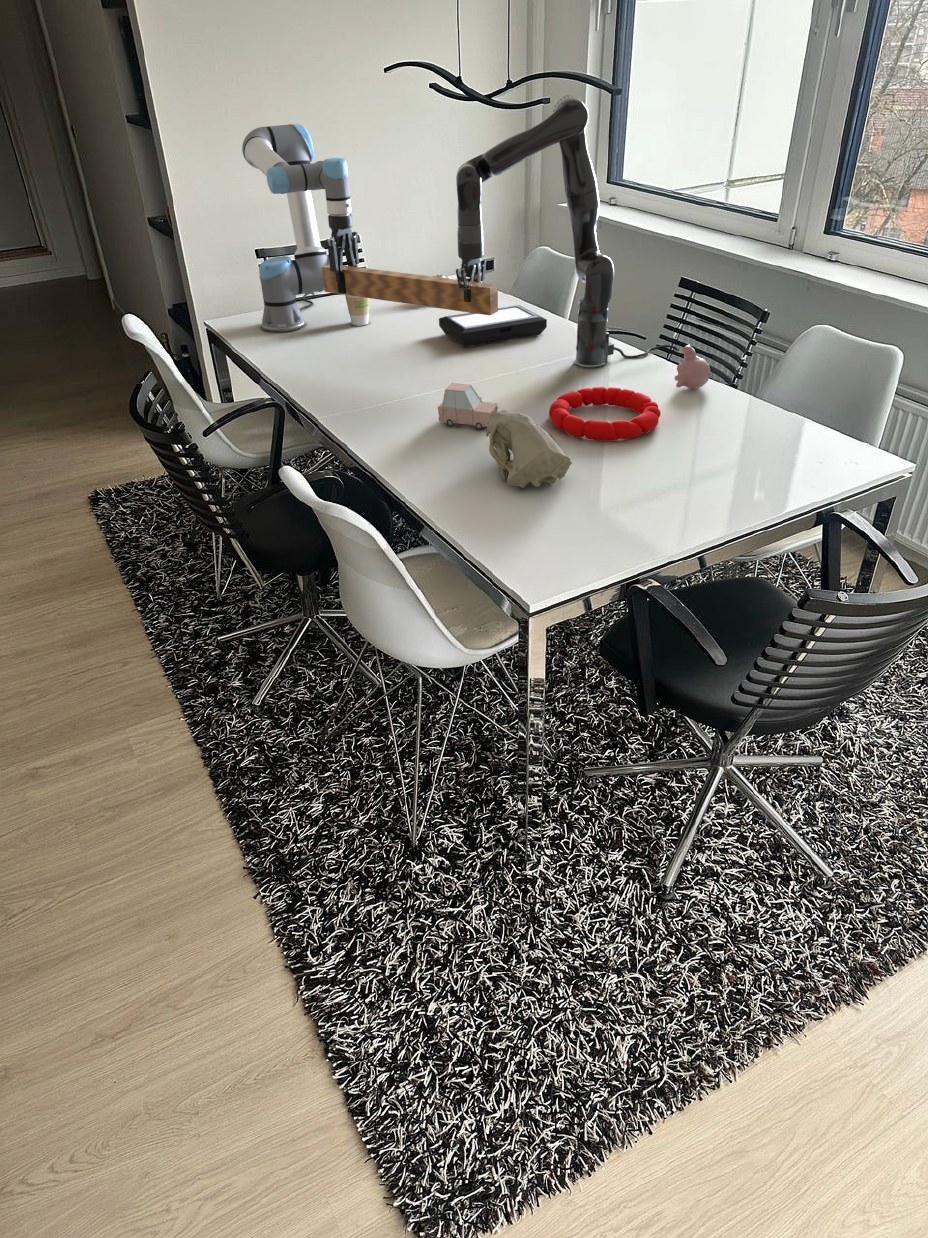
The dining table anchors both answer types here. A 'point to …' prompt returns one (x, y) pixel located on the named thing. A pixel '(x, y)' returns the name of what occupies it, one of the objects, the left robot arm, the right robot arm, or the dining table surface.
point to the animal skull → (525, 450)
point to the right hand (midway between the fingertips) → (472, 299)
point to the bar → (413, 289)
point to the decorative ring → (604, 428)
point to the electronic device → (493, 326)
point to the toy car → (465, 406)
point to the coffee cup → (358, 309)
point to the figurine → (692, 370)
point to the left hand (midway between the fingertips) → (347, 290)
